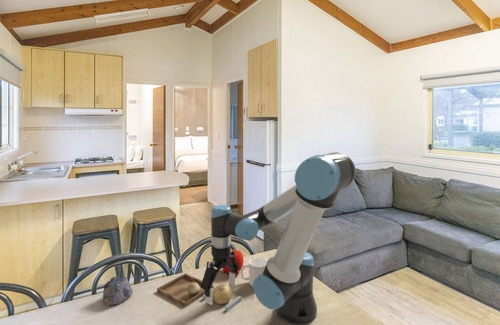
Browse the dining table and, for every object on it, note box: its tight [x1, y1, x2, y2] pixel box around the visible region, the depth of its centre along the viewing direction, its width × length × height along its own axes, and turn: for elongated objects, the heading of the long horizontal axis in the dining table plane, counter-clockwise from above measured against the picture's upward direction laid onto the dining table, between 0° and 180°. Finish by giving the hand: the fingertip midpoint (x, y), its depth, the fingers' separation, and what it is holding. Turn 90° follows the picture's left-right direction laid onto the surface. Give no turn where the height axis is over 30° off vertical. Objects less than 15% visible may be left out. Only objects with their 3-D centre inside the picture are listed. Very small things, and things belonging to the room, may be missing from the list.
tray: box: [156, 272, 215, 308], centre depth 126 cm, size 18×16×2 cm
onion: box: [212, 284, 233, 305], centre depth 119 cm, size 8×8×7 cm
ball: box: [187, 282, 200, 295], centre depth 123 cm, size 5×5×5 cm
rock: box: [102, 276, 134, 306], centre depth 120 cm, size 11×10×10 cm
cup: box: [240, 257, 268, 288], centre depth 131 cm, size 8×12×10 cm
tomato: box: [222, 249, 244, 274], centre depth 142 cm, size 10×11×11 cm
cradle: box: [202, 285, 242, 312], centre depth 119 cm, size 13×8×2 cm, turn 54°
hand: (221, 295), depth 119 cm, fingers open, 13 cm apart
